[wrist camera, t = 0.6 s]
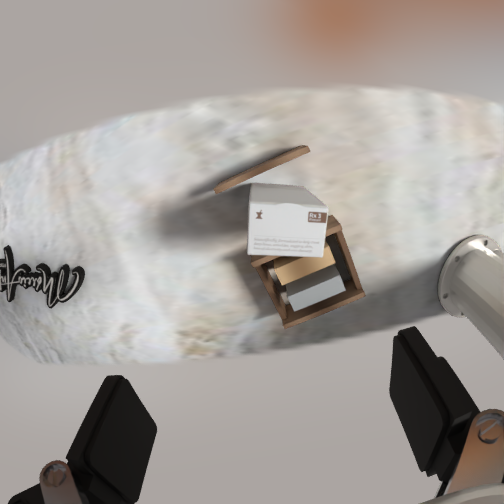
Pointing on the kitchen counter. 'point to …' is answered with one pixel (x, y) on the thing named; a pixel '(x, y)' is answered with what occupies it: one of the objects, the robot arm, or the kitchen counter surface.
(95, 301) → the kitchen counter surface
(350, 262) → the walnut rack
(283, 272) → the oak offcut
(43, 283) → the nameplate
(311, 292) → the slate offcut
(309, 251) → the skincare box
